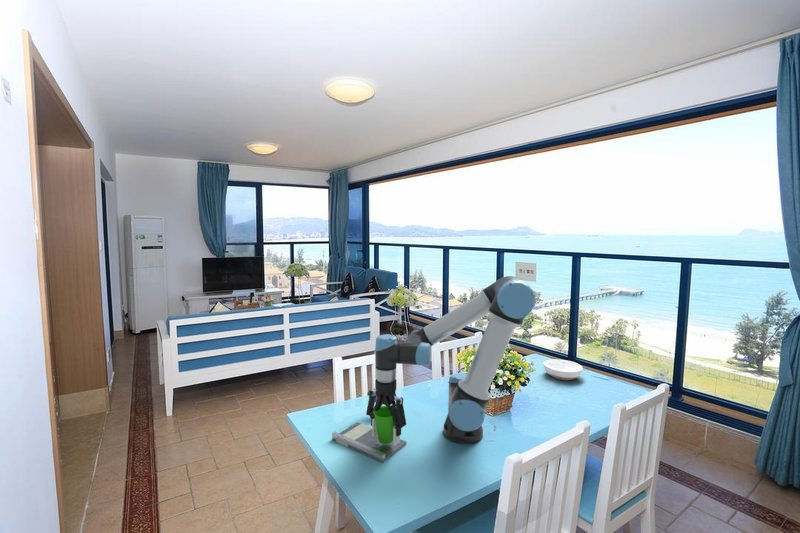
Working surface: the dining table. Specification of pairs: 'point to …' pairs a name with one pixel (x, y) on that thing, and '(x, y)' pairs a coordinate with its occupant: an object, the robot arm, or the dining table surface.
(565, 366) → the bowl
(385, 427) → the cup
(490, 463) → the dining table surface
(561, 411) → the dining table surface
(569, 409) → the dining table surface
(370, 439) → the grey flat piece
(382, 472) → the dining table surface
